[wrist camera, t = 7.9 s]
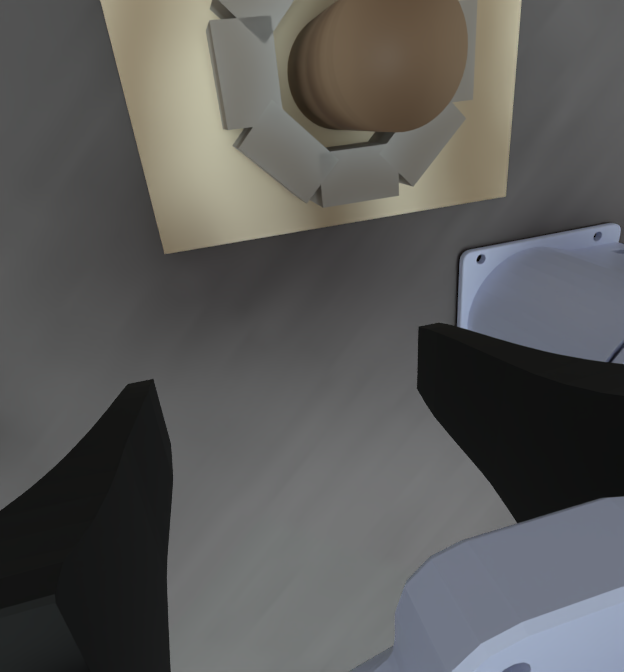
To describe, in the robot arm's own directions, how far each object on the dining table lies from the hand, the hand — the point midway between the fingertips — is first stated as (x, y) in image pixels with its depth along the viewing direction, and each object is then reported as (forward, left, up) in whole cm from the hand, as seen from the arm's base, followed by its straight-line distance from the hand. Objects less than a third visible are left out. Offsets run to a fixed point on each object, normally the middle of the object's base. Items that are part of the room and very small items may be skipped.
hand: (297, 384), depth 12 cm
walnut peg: (-5, -7, -9) cm, 13 cm away
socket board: (-5, -8, -10) cm, 14 cm away
